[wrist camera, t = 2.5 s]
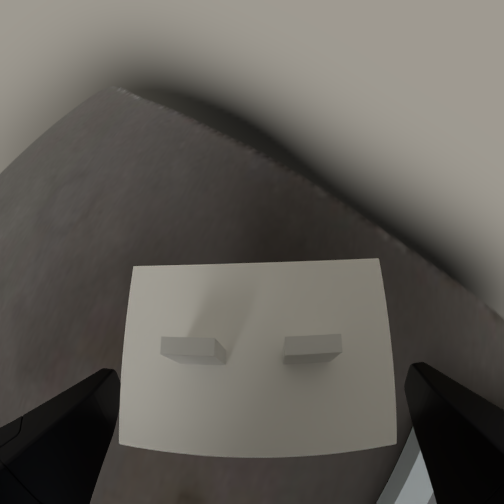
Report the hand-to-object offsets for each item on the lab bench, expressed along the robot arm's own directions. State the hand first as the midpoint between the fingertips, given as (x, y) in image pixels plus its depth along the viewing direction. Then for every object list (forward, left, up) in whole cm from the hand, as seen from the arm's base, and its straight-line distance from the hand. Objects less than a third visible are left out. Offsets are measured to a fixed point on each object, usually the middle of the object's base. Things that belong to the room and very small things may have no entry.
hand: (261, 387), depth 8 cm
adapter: (0, 0, -8) cm, 8 cm away
